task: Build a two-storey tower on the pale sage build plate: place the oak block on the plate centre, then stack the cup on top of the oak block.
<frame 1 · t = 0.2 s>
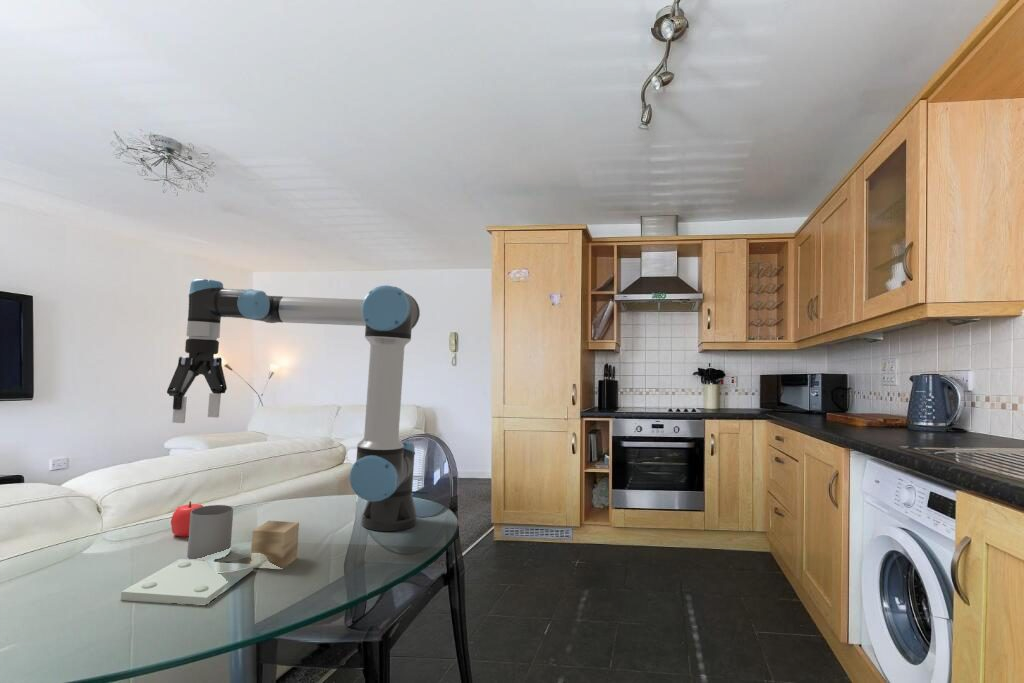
hand: (196, 420, 136), 28 cm above the table, fingers open, 13 cm apart
apple: (187, 534, 130), on the table
cup: (209, 555, 118), on the table
oak block: (274, 563, 115), on the table
build plate: (191, 584, 103), on the table
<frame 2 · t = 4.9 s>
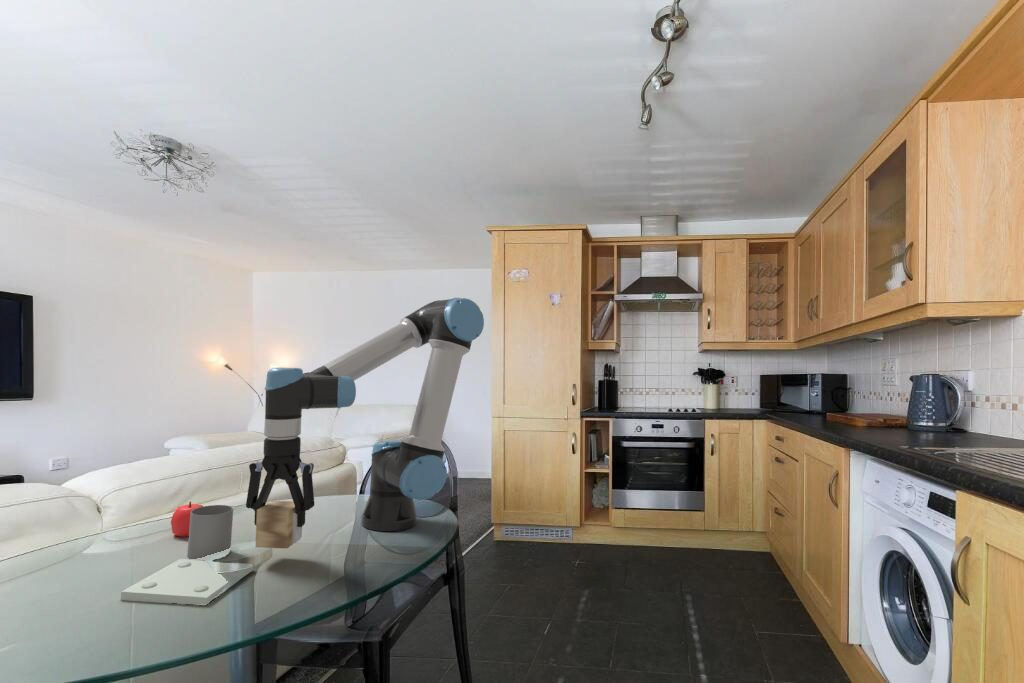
hand: (279, 540, 116), 5 cm above the table, fingers closed on oak block, 7 cm apart
oak block: (279, 542, 116), point 4 cm above the table, touching gripper
everything else where it was.
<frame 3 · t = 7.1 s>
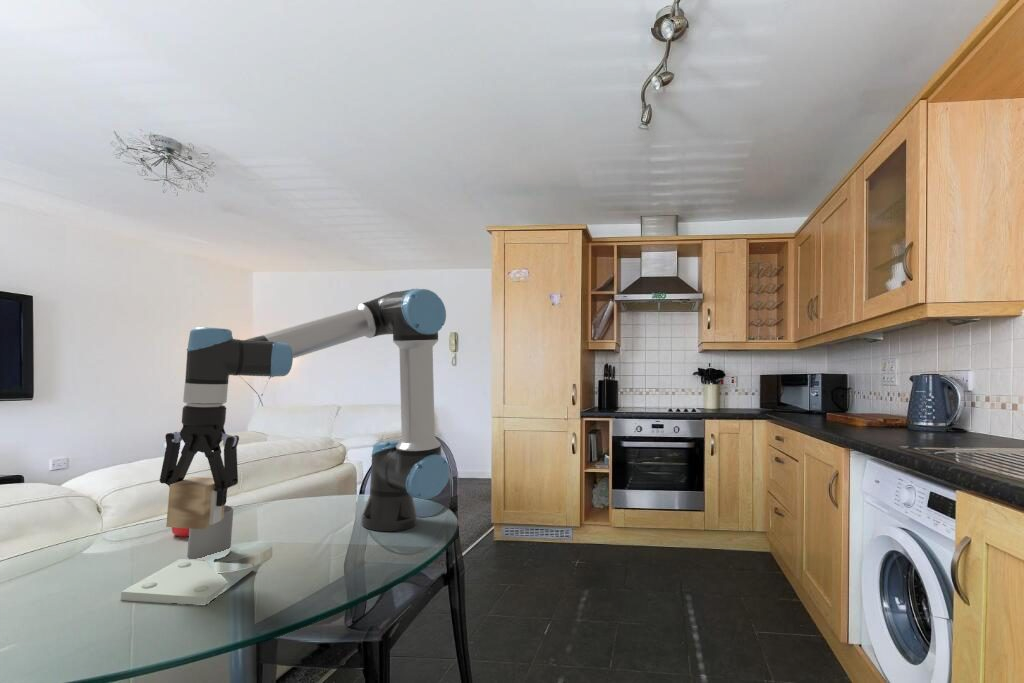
hand: (196, 520, 103), 12 cm above the table, fingers closed on oak block, 7 cm apart
oak block: (195, 522, 103), point 12 cm above the table, touching gripper
everything else where it was.
when the fingers open (2 cm above the table, at t = 9.2 s): oak block stays where it is, resting on build plate.
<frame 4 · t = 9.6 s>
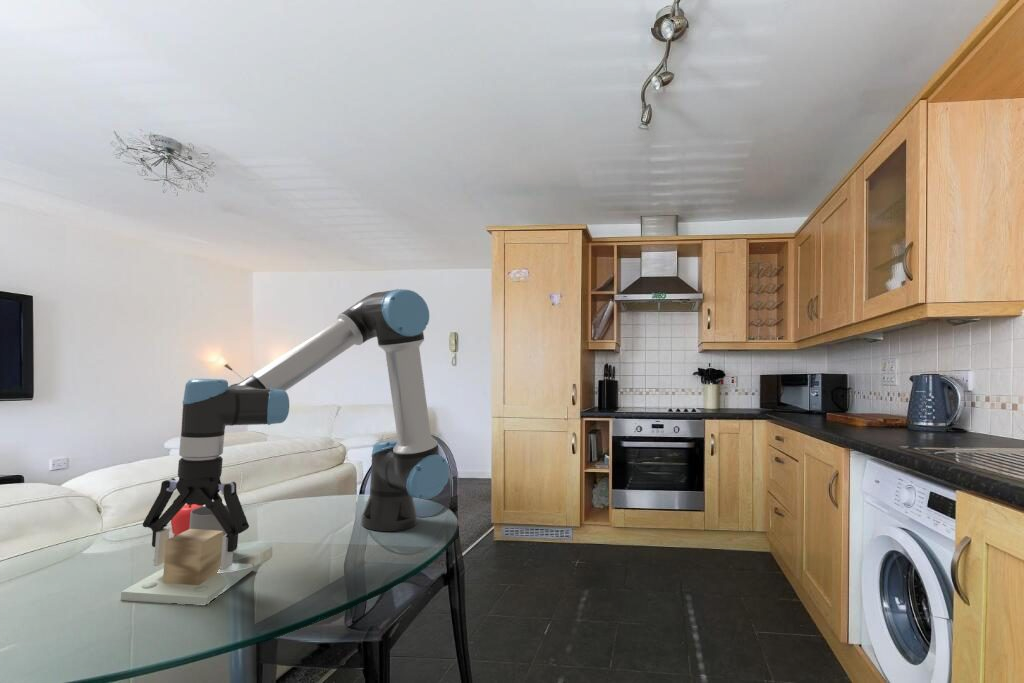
hand: (193, 565, 103), 4 cm above the table, fingers open, 13 cm apart
oak block: (192, 576, 103), point 1 cm above the table, touching build plate
everything else where it was.
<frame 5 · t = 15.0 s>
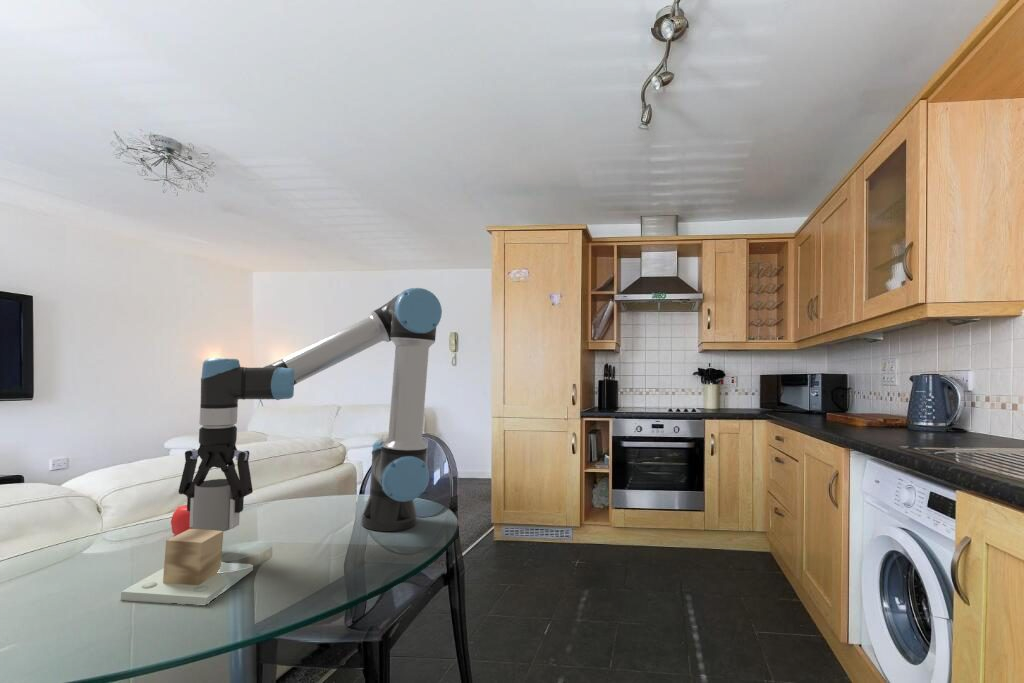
hand: (214, 525, 118), 6 cm above the table, fingers closed on cup, 8 cm apart
cup: (214, 528, 118), point 6 cm above the table, touching gripper
everything else where it was.
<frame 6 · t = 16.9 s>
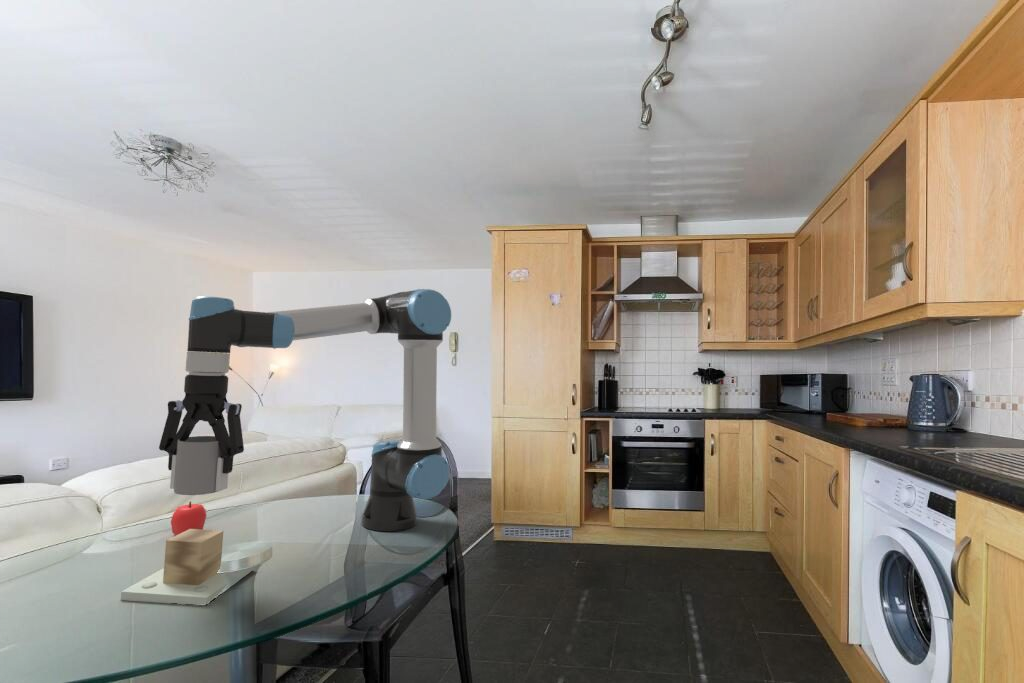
hand: (198, 488, 103), 19 cm above the table, fingers closed on cup, 8 cm apart
cup: (198, 490, 103), point 18 cm above the table, touching gripper
everything else where it was.
when the fingers open (10 cm above the table, at t = 19.1 s): cup stays where it is, resting on oak block.
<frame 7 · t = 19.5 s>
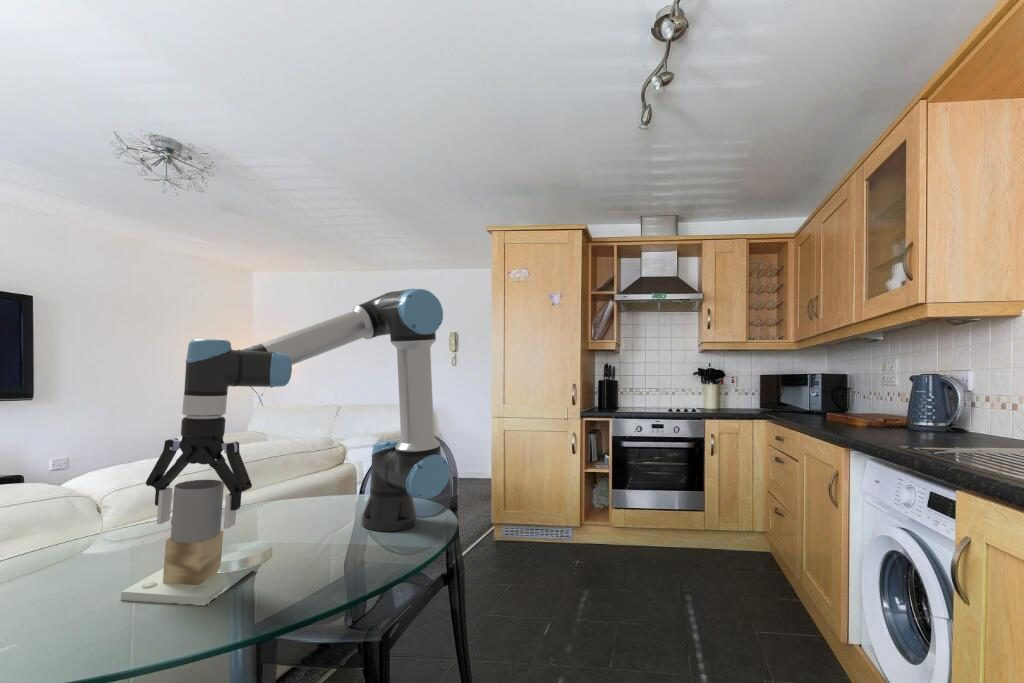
hand: (196, 524, 103), 12 cm above the table, fingers open, 13 cm apart
cup: (195, 536, 103), point 9 cm above the table, touching oak block
oak block: (192, 576, 103), point 1 cm above the table, touching build plate, cup
everything else where it was.
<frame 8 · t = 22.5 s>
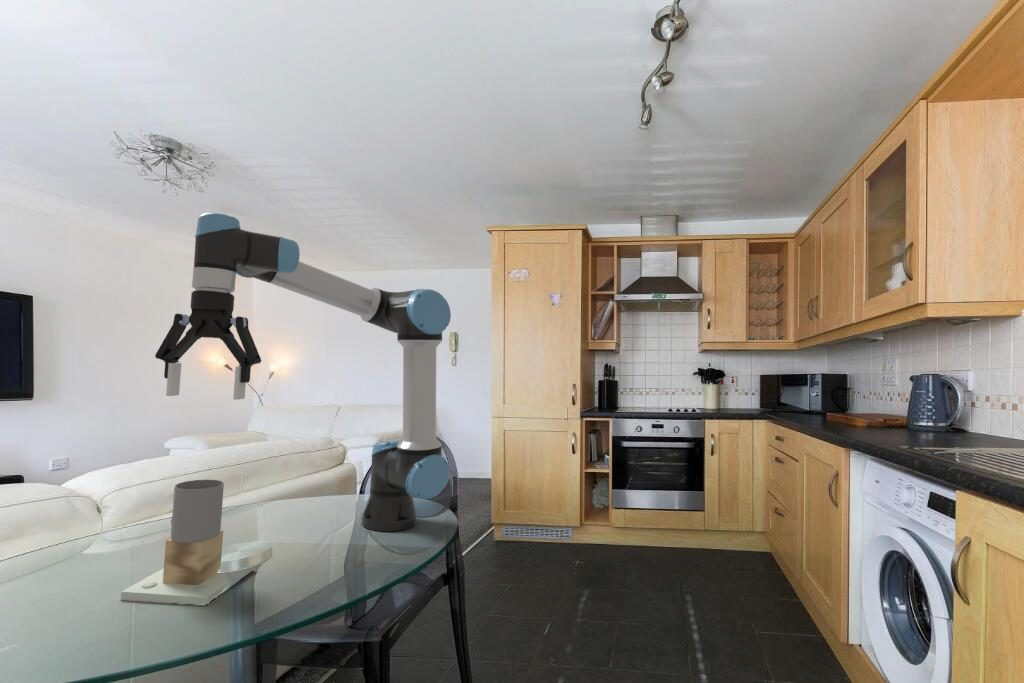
hand: (205, 397, 104), 37 cm above the table, fingers open, 13 cm apart
nothing on the table moved.
at the end: oak block inside the target area on the build plate (0.0 cm from its centre), point 1.5 cm above the build plate's base; cup 0.1 cm from the oak block (horizontally); cup point 9.3 cm above the table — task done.
